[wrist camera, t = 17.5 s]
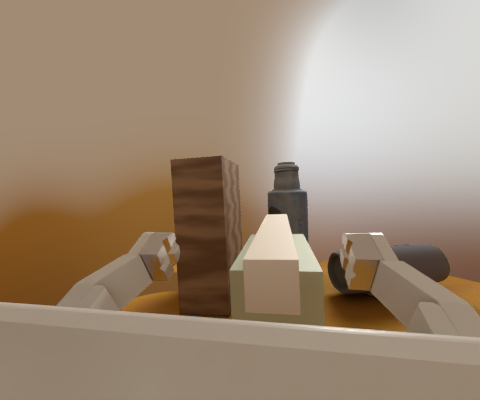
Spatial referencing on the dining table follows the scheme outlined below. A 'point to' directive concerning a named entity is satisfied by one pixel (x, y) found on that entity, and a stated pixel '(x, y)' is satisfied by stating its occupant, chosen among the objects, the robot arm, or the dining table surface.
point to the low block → (308, 289)
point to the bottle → (289, 198)
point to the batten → (272, 269)
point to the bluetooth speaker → (414, 255)
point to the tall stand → (206, 232)
